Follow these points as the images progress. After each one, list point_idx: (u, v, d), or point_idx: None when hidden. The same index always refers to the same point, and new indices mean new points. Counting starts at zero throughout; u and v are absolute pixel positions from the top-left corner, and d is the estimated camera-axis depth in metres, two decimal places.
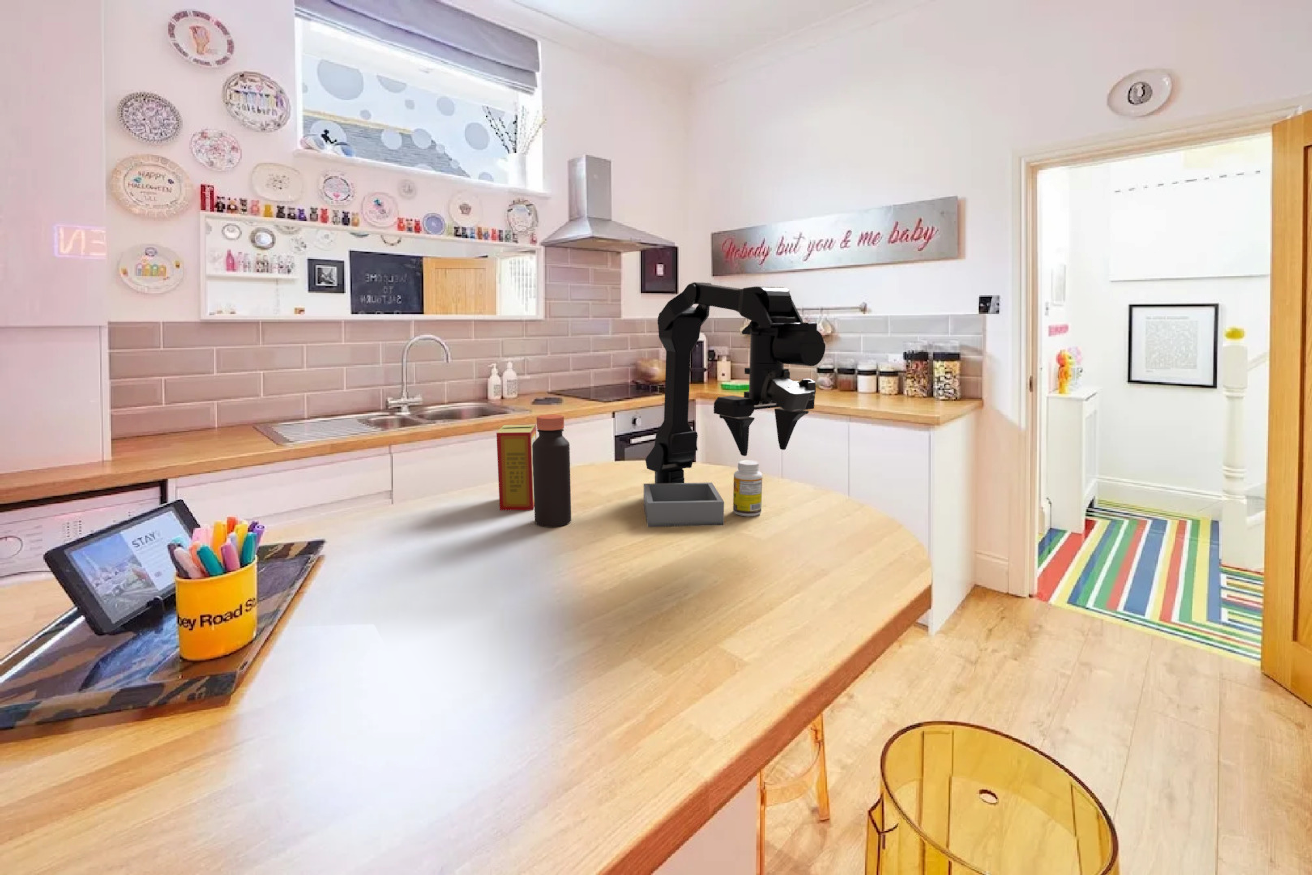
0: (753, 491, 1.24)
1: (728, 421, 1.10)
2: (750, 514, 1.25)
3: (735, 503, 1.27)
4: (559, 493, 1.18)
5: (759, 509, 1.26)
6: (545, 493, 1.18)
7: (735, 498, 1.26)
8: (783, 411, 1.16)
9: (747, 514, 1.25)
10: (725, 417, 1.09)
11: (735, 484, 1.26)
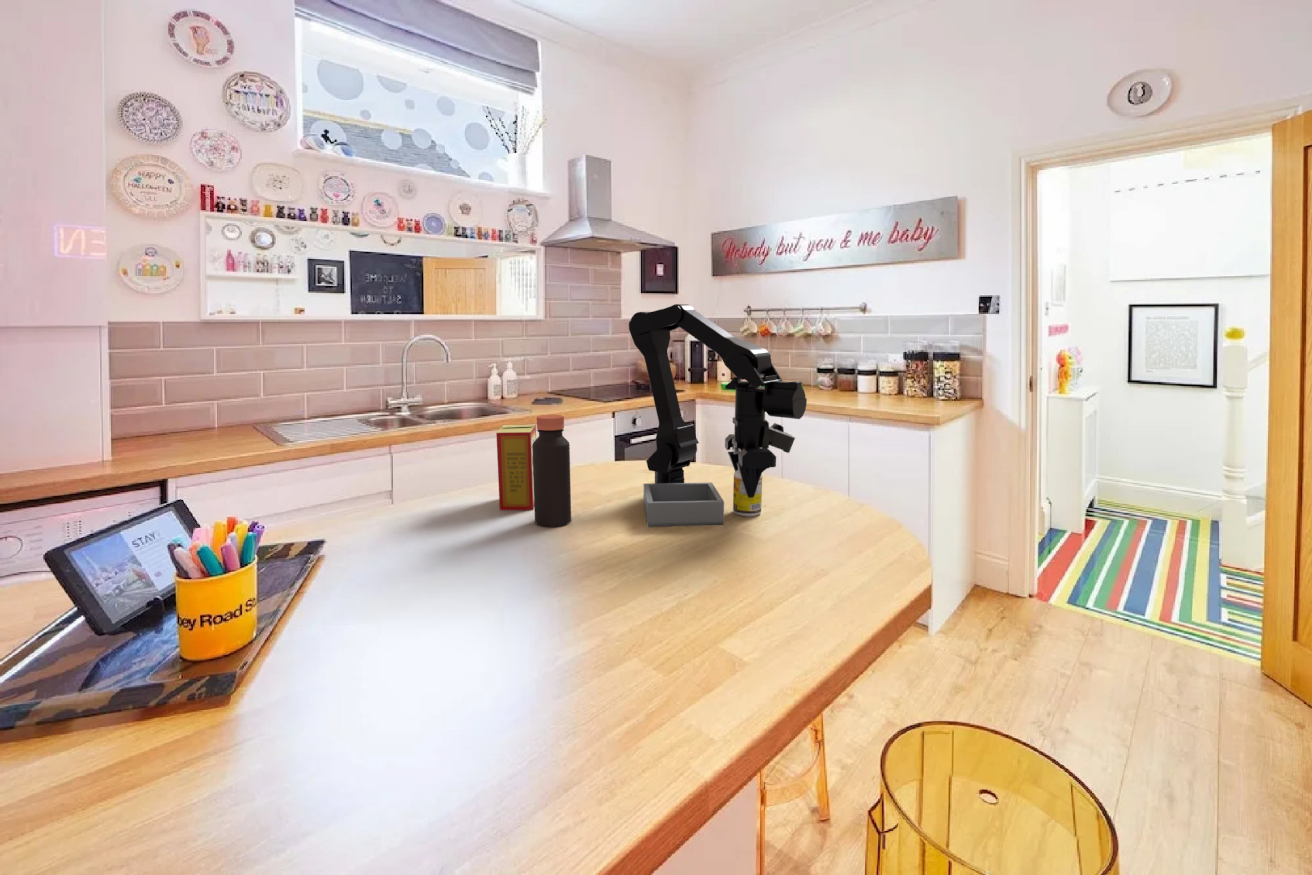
0: None
1: (743, 470, 1.21)
2: (750, 514, 1.25)
3: (735, 503, 1.27)
4: (559, 493, 1.18)
5: (759, 509, 1.26)
6: (545, 493, 1.18)
7: (735, 498, 1.26)
8: None
9: (747, 514, 1.25)
10: None
11: (735, 484, 1.26)
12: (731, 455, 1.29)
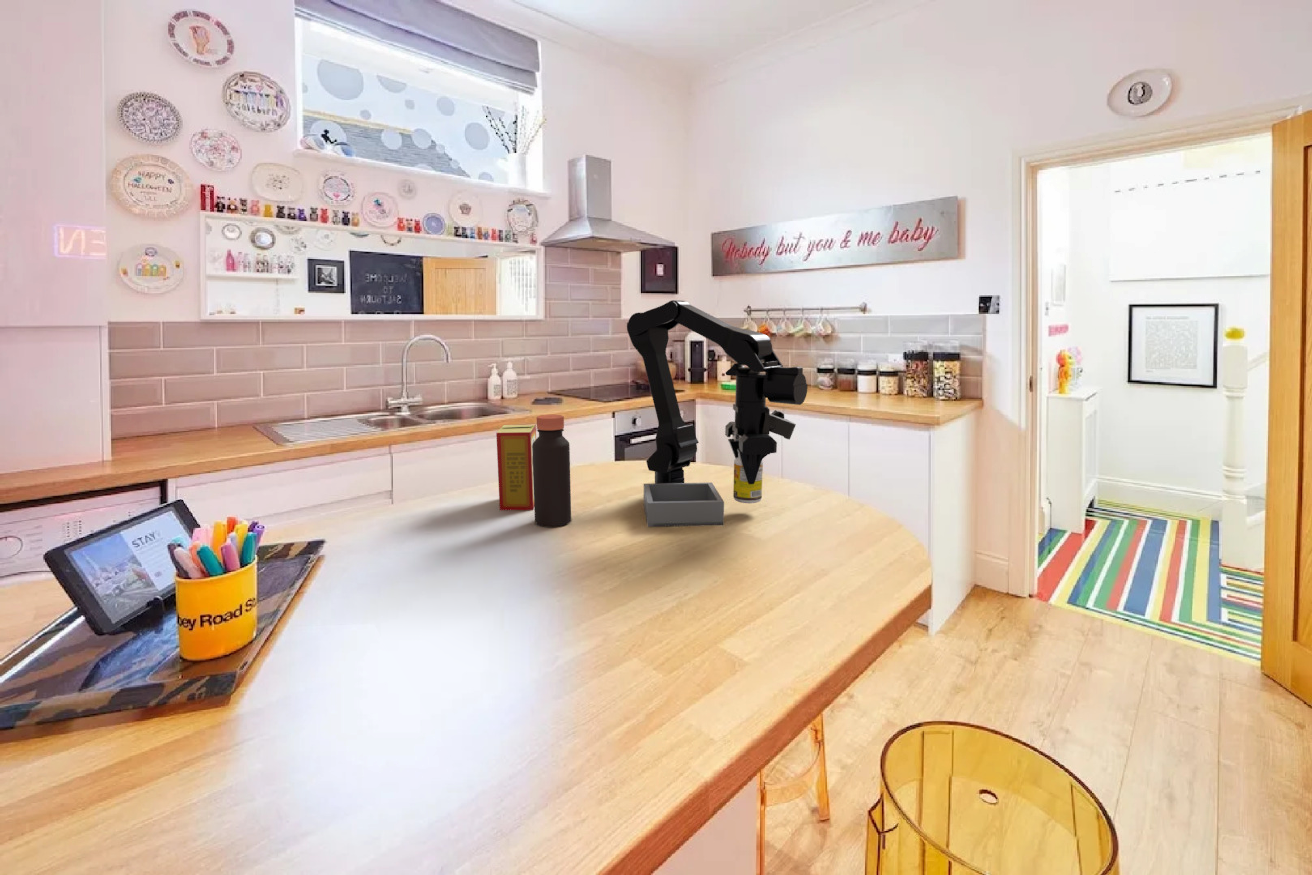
0: None
1: (743, 456, 1.21)
2: (750, 501, 1.25)
3: (735, 490, 1.26)
4: (559, 493, 1.18)
5: (759, 496, 1.26)
6: (545, 493, 1.18)
7: (735, 485, 1.26)
8: None
9: (747, 501, 1.25)
10: (751, 453, 1.19)
11: (735, 471, 1.25)
12: (731, 442, 1.29)
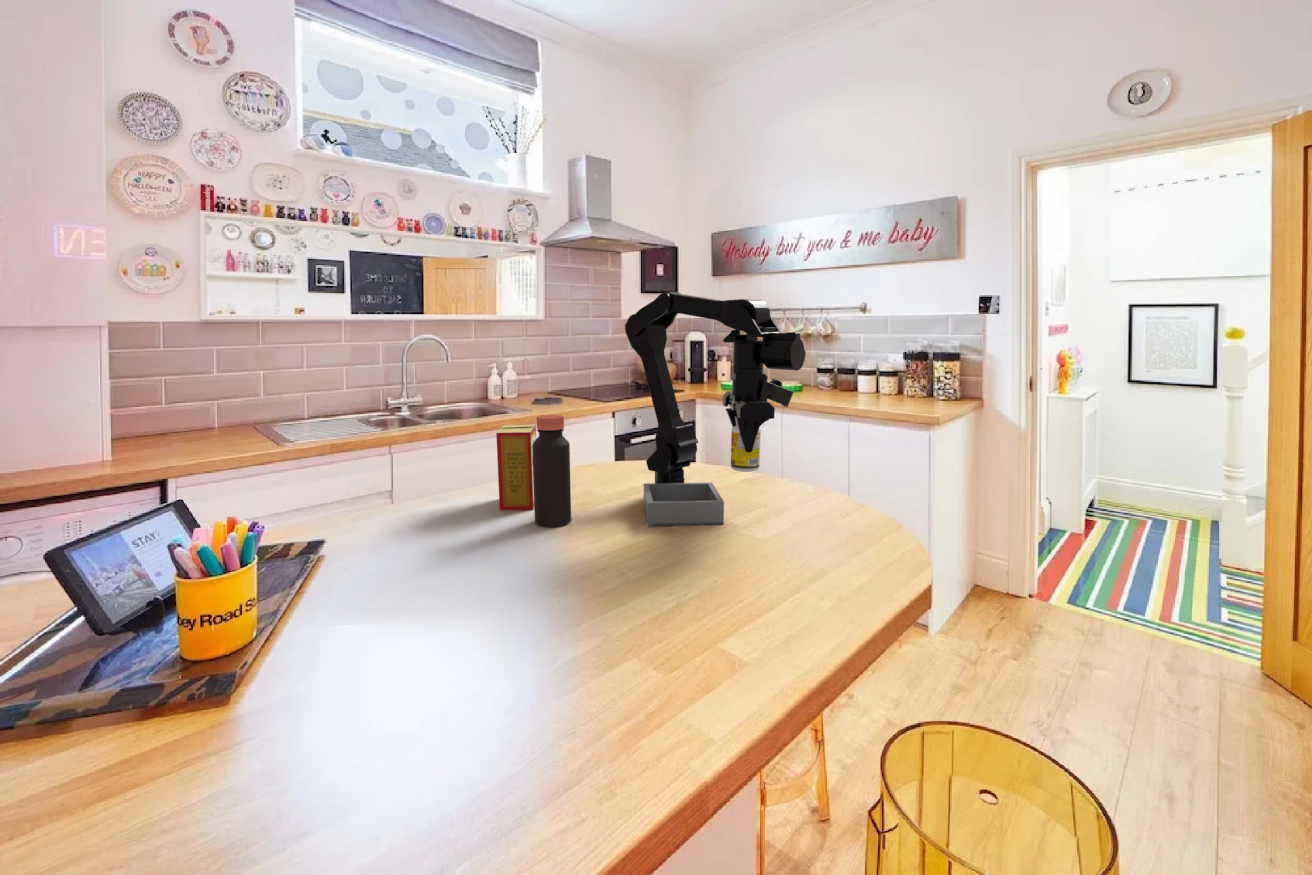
0: None
1: (741, 423, 1.20)
2: (748, 469, 1.24)
3: (732, 458, 1.25)
4: (559, 493, 1.18)
5: (757, 464, 1.24)
6: (545, 493, 1.18)
7: (733, 453, 1.25)
8: None
9: (745, 469, 1.24)
10: (748, 419, 1.18)
11: (733, 439, 1.24)
12: (729, 411, 1.28)
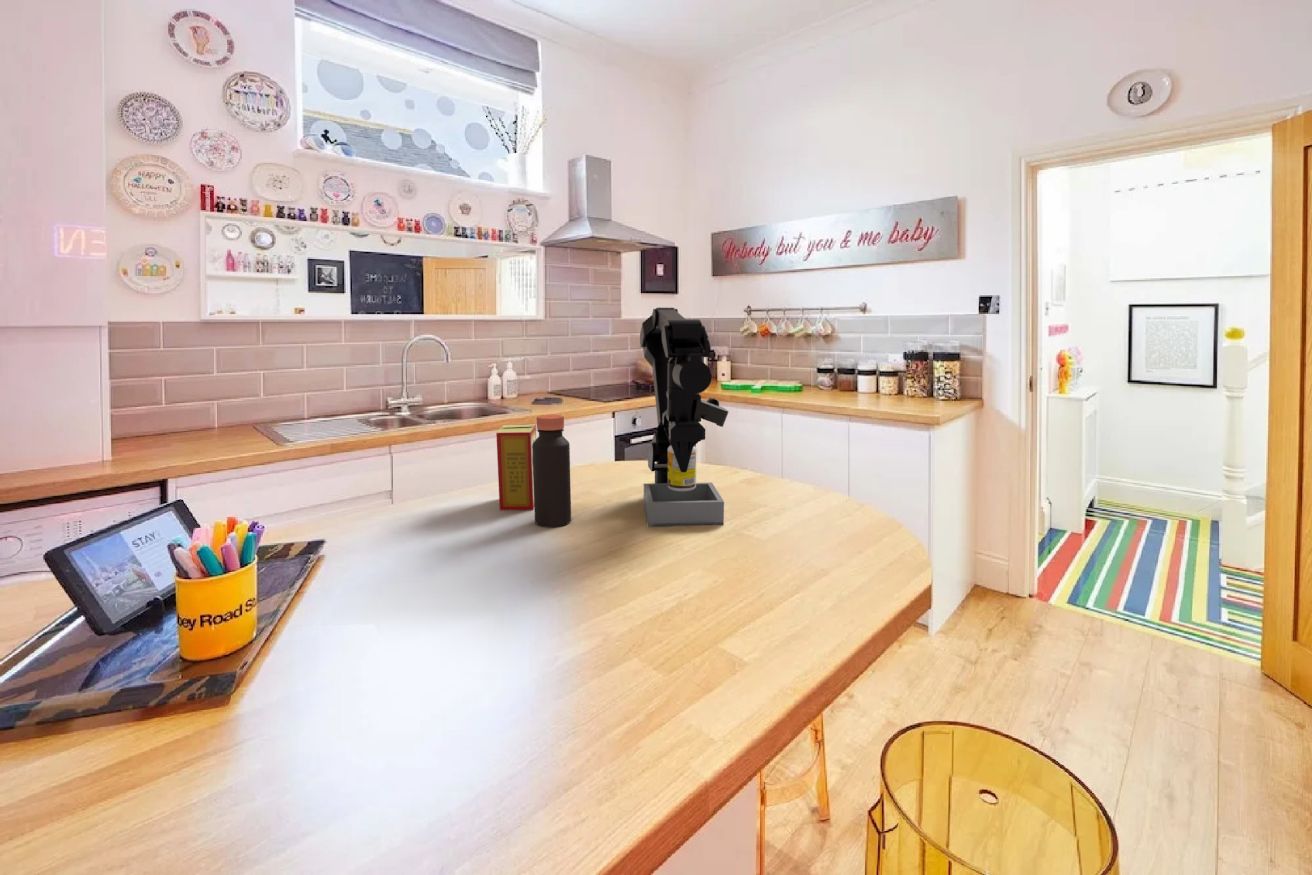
0: None
1: (674, 443, 1.19)
2: (683, 489, 1.23)
3: (668, 478, 1.25)
4: (559, 493, 1.18)
5: (693, 484, 1.24)
6: (545, 493, 1.18)
7: (669, 473, 1.24)
8: None
9: (680, 489, 1.23)
10: (680, 440, 1.18)
11: (668, 458, 1.24)
12: (666, 430, 1.27)
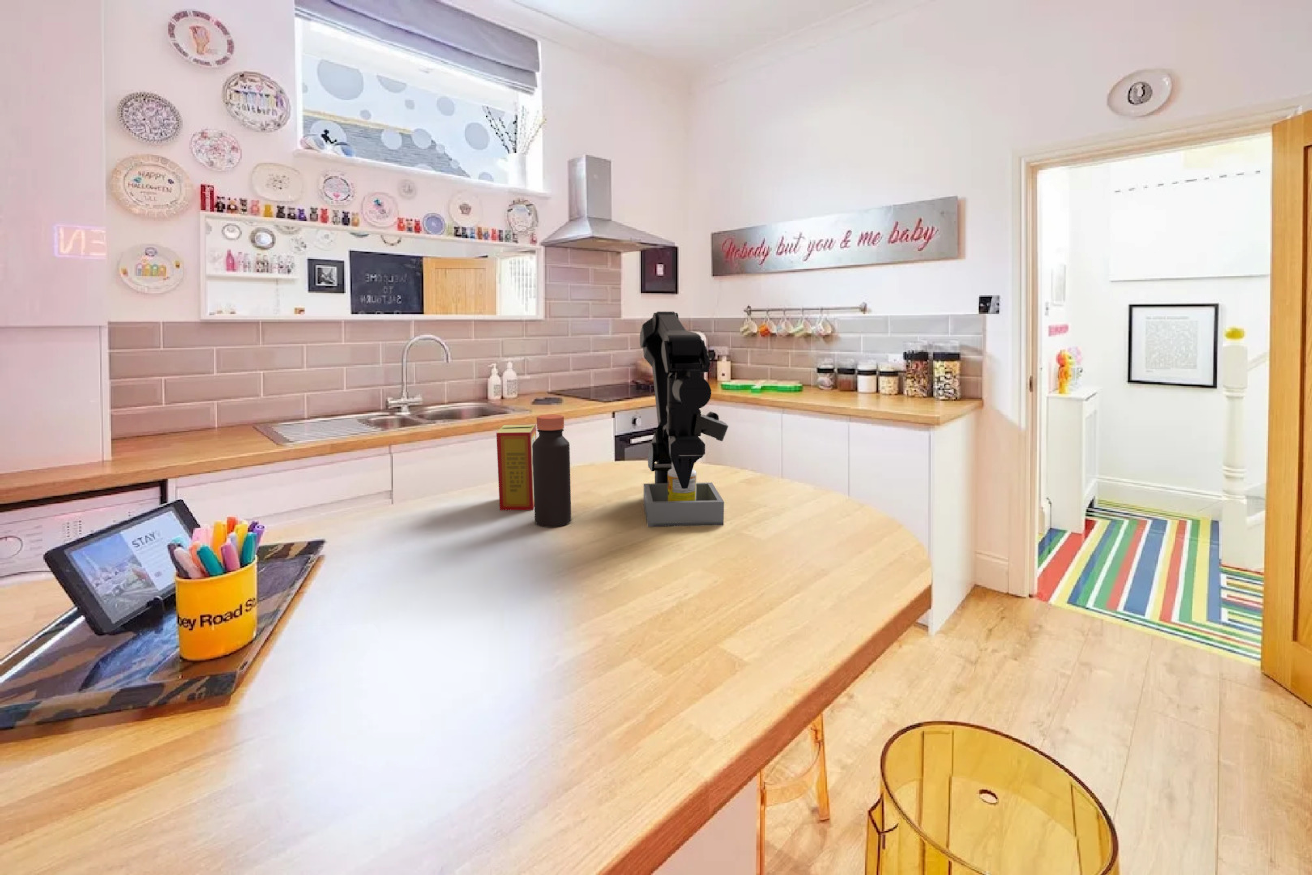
0: (686, 490, 1.23)
1: (675, 460, 1.18)
2: None
3: None
4: (559, 493, 1.18)
5: None
6: (545, 493, 1.18)
7: (669, 496, 1.25)
8: None
9: None
10: (681, 457, 1.16)
11: (668, 482, 1.25)
12: (665, 442, 1.29)
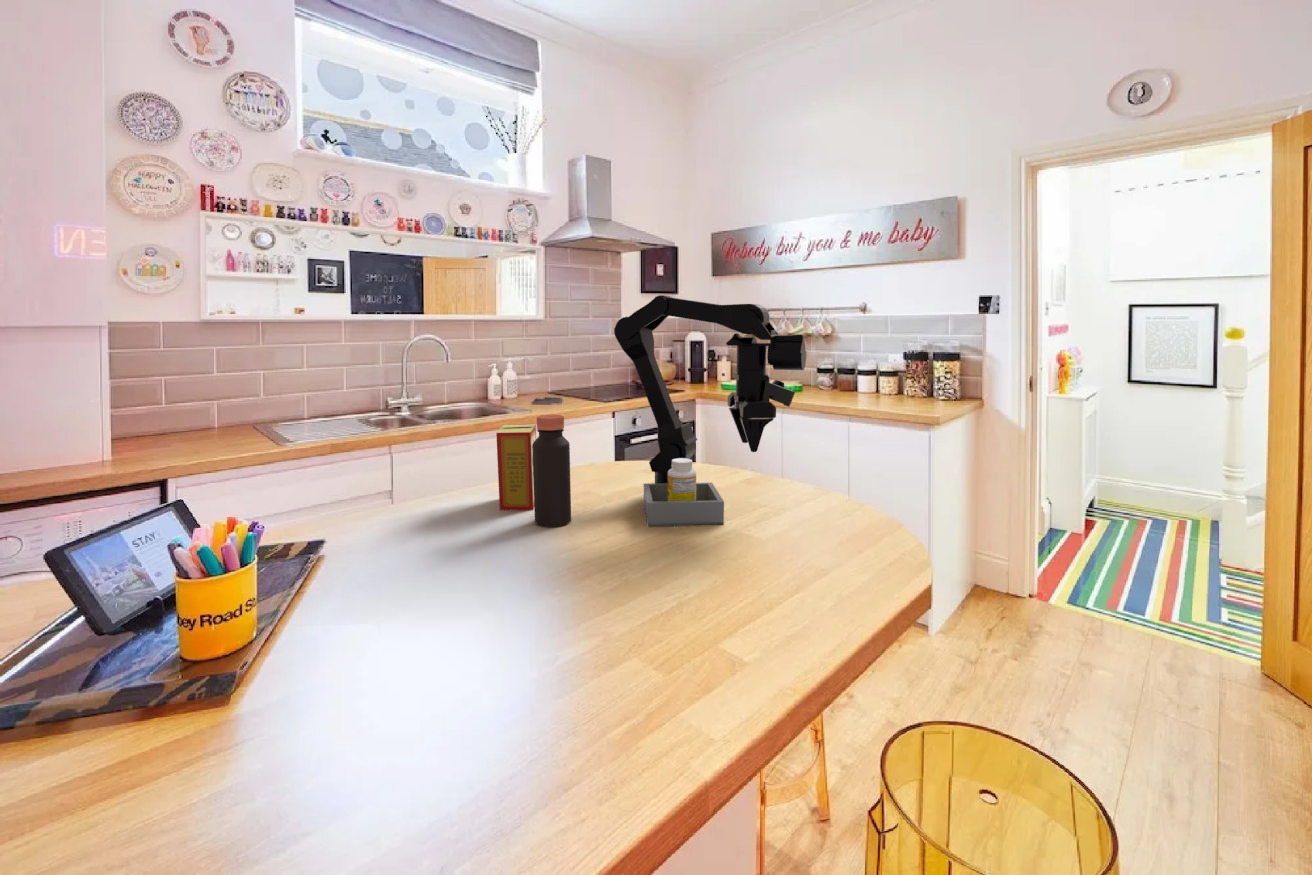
0: (686, 490, 1.23)
1: (746, 424, 1.23)
2: None
3: None
4: (559, 493, 1.18)
5: None
6: (545, 493, 1.18)
7: (669, 496, 1.25)
8: None
9: None
10: (753, 420, 1.22)
11: (668, 482, 1.25)
12: (732, 410, 1.35)
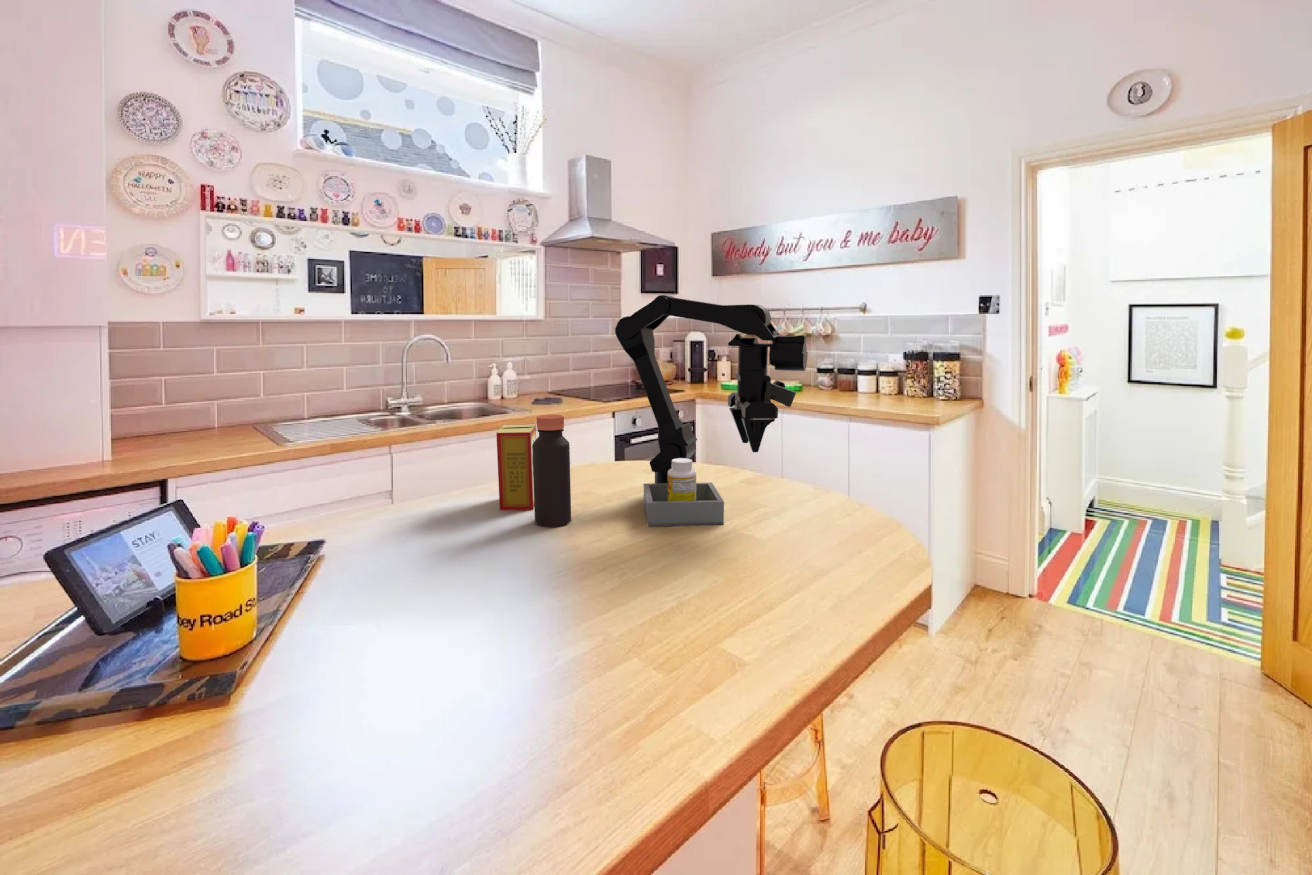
0: (686, 490, 1.23)
1: (748, 424, 1.24)
2: None
3: None
4: (559, 493, 1.18)
5: None
6: (545, 493, 1.18)
7: (669, 496, 1.25)
8: None
9: None
10: (755, 420, 1.22)
11: (668, 482, 1.25)
12: (732, 410, 1.35)
